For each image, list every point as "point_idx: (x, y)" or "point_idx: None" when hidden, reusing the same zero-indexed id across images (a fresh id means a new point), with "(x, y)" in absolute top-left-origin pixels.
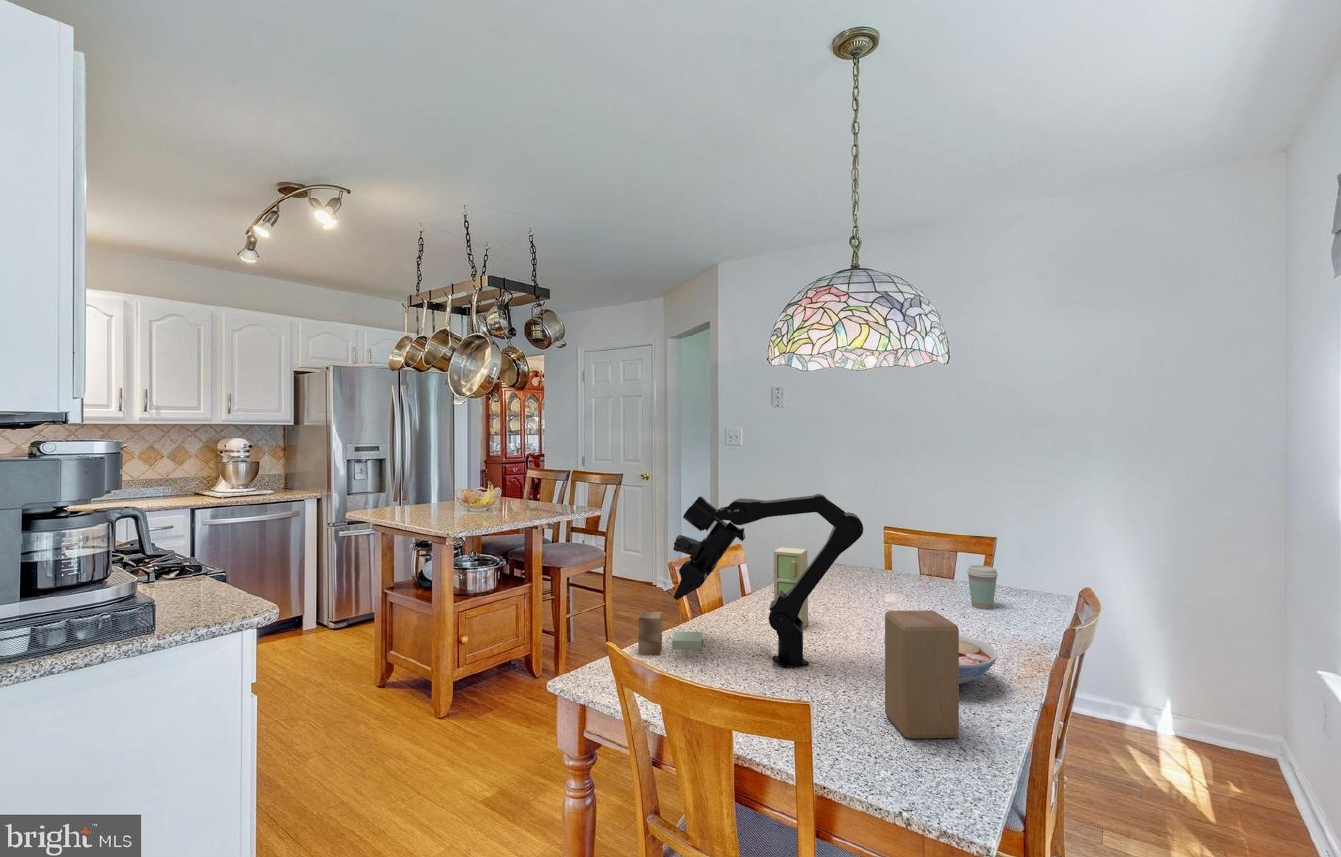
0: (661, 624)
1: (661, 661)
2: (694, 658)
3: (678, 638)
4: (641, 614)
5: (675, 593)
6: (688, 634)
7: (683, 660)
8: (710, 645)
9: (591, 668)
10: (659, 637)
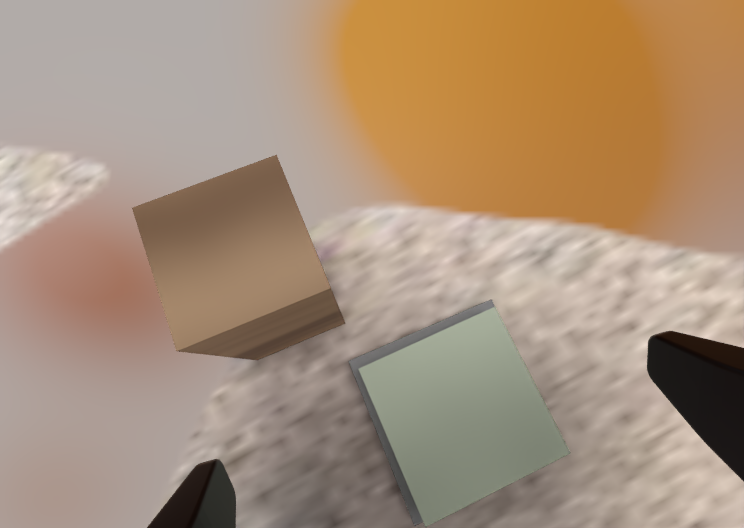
0: (311, 311)
1: (257, 369)
2: (360, 493)
3: (404, 383)
4: (212, 187)
5: (156, 520)
6: (490, 401)
7: (313, 456)
8: (561, 483)
9: (76, 163)
10: (223, 355)
